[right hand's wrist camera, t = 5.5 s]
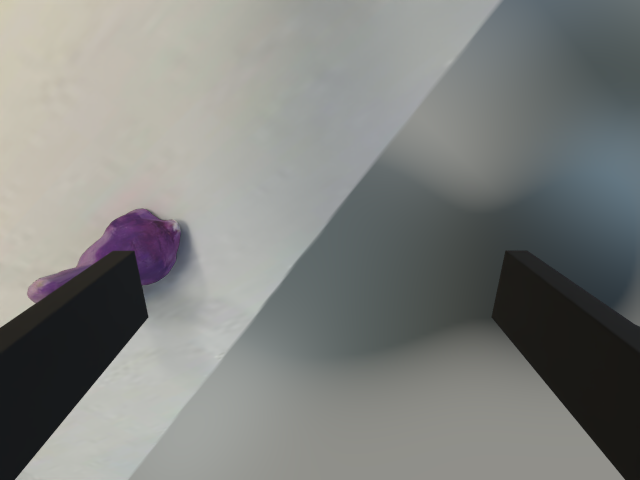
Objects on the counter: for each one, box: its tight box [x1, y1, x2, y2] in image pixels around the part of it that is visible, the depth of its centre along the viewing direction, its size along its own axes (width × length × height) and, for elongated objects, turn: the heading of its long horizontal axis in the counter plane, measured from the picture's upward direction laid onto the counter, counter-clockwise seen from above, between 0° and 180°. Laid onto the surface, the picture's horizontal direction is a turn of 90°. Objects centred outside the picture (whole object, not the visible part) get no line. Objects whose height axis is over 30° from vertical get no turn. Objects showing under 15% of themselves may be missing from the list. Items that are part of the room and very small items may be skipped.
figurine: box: [27, 209, 181, 303], centre depth 35 cm, size 9×10×15 cm
